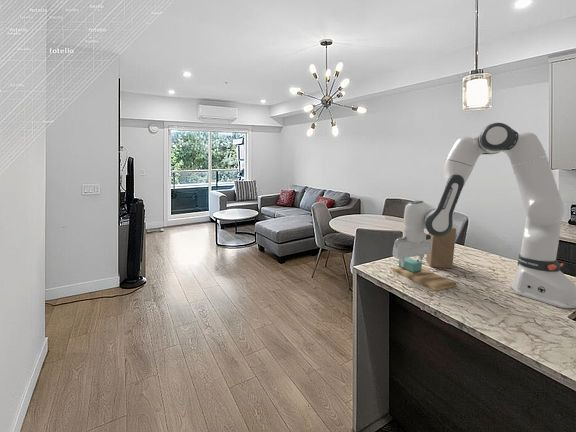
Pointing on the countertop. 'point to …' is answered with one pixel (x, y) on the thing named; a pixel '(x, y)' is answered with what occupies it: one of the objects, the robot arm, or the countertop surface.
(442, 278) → the oak board
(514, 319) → the countertop surface
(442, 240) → the wooden block
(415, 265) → the block
